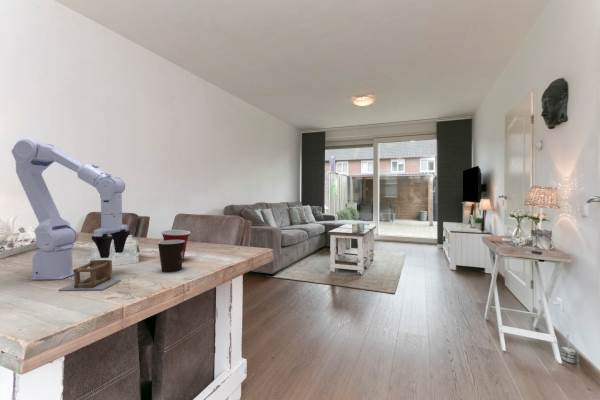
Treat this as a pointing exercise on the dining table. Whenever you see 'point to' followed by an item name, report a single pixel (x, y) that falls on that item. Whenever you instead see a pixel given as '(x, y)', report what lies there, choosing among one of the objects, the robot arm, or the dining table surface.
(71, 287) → the felt mat
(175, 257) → the coffee mug
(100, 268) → the stool
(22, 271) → the dining table surface
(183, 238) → the plastic cup
